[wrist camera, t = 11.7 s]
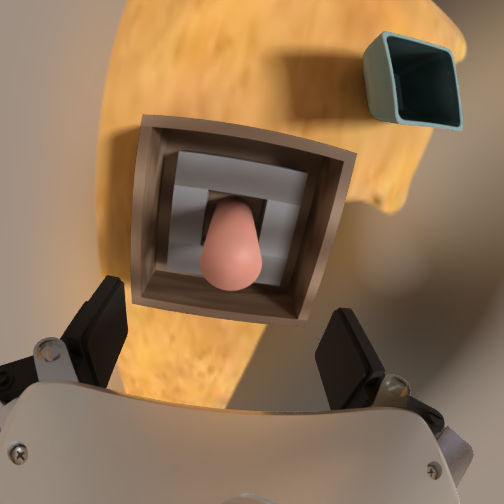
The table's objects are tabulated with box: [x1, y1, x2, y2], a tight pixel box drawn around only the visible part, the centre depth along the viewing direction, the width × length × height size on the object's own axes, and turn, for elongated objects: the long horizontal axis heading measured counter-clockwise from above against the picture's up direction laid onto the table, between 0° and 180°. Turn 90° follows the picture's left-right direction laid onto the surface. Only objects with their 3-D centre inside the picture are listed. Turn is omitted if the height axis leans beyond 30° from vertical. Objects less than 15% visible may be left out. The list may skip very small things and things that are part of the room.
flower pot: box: [362, 32, 463, 131], centre depth 20 cm, size 9×9×9 cm
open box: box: [131, 114, 357, 327], centre depth 26 cm, size 18×18×7 cm
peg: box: [200, 196, 262, 291], centre depth 23 cm, size 4×4×12 cm
